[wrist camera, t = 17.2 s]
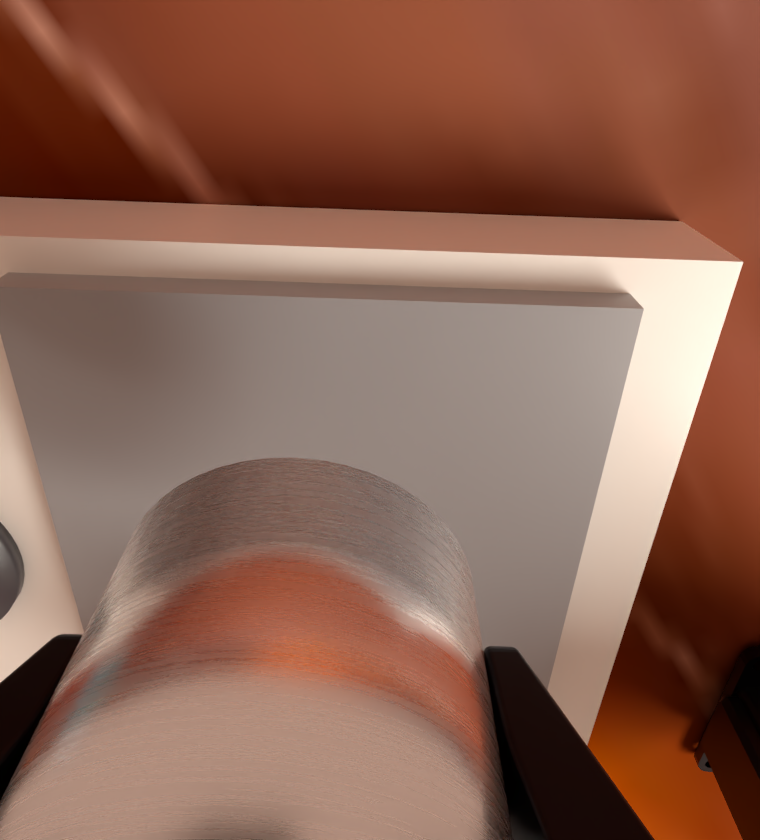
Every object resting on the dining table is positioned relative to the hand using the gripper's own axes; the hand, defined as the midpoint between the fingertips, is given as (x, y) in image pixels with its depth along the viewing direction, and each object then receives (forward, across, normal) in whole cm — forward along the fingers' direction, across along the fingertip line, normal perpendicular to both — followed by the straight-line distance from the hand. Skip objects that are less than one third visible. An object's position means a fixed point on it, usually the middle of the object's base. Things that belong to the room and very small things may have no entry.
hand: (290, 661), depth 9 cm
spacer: (+1, 0, 0) cm, 1 cm away
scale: (+10, +3, +4) cm, 11 cm away
